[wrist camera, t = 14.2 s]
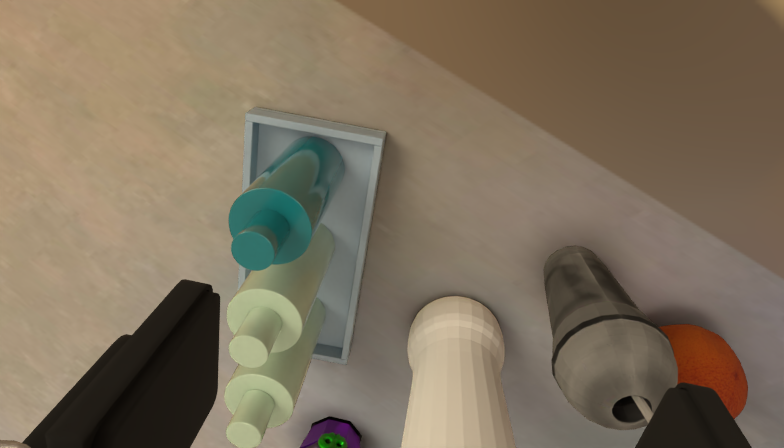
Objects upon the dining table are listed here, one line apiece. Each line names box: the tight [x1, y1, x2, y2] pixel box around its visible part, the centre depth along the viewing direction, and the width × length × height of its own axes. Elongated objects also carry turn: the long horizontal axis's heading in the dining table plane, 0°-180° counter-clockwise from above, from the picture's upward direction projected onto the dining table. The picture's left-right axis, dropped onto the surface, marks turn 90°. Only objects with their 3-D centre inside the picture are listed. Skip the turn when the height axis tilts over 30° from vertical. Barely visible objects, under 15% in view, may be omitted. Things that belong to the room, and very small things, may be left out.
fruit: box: [659, 324, 748, 419], centre depth 41 cm, size 9×9×8 cm
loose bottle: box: [229, 136, 345, 271], centre depth 34 cm, size 5×5×14 cm
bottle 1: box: [227, 223, 335, 368], centre depth 37 cm, size 5×5×14 cm
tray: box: [238, 107, 386, 365], centre depth 43 cm, size 21×10×2 cm, turn 170°
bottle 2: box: [224, 297, 326, 448], centre depth 40 cm, size 5×5×14 cm
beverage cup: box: [544, 246, 678, 430], centre depth 34 cm, size 7×7×20 cm
